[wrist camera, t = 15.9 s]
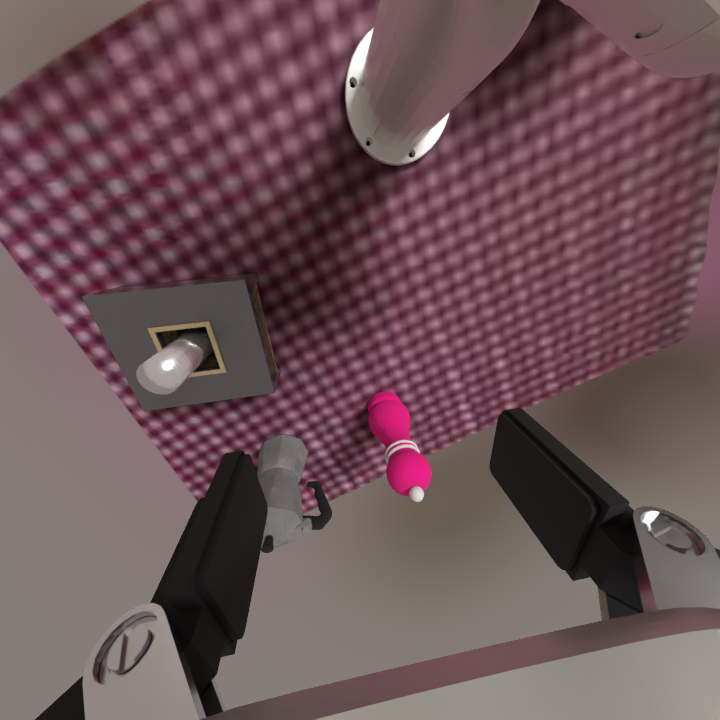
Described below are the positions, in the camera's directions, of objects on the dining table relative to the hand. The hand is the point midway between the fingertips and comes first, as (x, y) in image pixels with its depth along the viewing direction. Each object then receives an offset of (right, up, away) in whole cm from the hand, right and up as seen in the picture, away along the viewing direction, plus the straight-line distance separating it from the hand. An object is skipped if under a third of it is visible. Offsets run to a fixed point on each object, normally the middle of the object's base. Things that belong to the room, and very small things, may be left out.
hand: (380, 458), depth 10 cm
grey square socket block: (-24, +8, +30) cm, 39 cm away
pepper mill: (+4, -5, +40) cm, 41 cm away
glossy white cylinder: (-23, +8, +30) cm, 39 cm away
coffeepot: (-14, -14, +42) cm, 47 cm away
